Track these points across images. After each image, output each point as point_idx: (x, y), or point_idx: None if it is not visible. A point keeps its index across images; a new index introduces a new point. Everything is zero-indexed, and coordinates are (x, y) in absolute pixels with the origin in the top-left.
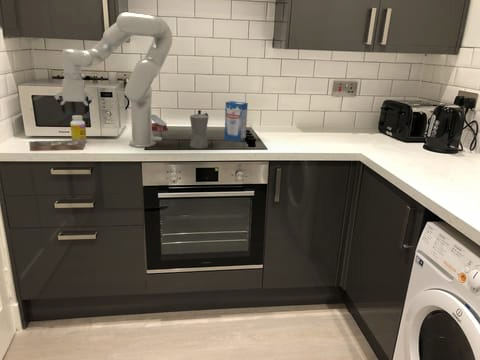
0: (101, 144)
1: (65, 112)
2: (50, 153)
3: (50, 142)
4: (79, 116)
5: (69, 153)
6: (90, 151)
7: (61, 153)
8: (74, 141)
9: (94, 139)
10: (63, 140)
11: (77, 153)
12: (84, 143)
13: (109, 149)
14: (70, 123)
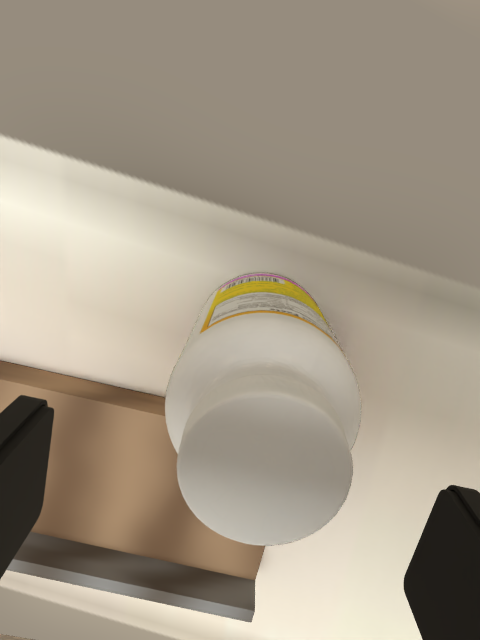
0: (416, 473)
1: (46, 460)
2: (40, 586)
3: (10, 564)
4: (294, 528)
5: (157, 621)
6: (293, 620)
7: (108, 607)
8: (192, 606)
9: (407, 283)
10: (117, 406)
11: (206, 636)
12: None
13: None
14: (165, 412)
